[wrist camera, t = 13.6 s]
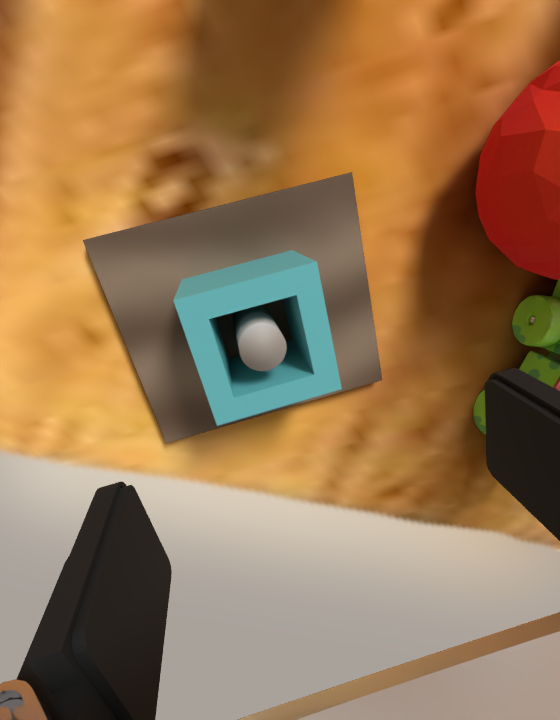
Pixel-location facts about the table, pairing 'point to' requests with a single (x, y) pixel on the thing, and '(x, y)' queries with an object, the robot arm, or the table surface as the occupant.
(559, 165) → the tomato
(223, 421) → the bead
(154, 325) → the post board
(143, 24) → the table surface
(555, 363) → the toy crocodile
